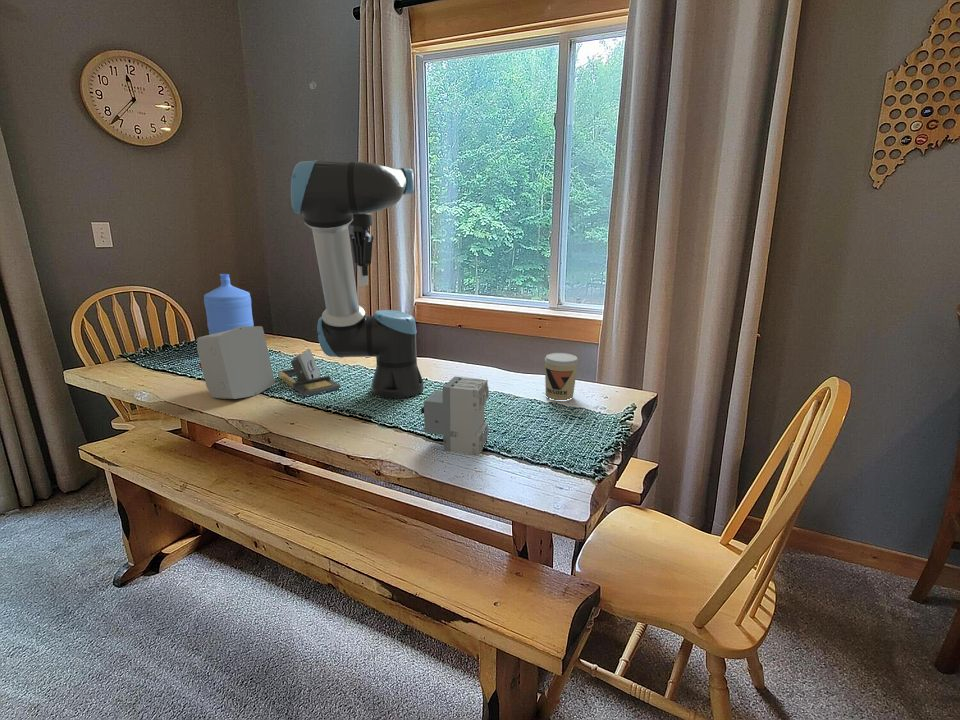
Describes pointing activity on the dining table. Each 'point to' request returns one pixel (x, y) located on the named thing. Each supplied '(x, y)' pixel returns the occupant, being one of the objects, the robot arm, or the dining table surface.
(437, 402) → the circuit breaker
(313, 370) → the electrical switch
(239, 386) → the electrical switch box
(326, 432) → the dining table surface
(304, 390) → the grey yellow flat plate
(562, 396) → the coffee cup
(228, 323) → the water jug
